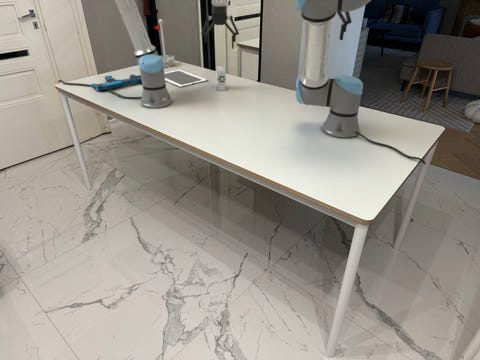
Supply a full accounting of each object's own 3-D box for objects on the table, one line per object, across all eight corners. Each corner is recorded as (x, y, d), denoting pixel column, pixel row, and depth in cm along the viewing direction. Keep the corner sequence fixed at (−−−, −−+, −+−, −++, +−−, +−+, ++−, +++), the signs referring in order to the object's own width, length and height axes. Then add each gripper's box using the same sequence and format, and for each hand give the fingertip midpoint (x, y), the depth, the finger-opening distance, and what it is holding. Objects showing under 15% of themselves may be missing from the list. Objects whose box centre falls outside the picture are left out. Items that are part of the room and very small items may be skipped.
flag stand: (173, 62, 250) (168, 17, 234) (176, 66, 240) (172, 20, 223) (155, 63, 246) (149, 18, 230) (158, 68, 236) (152, 21, 219)
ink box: (217, 86, 203) (216, 60, 195) (225, 86, 203) (225, 60, 195) (217, 90, 195) (216, 64, 187) (226, 90, 196) (225, 64, 188)
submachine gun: (136, 68, 224) (154, 75, 207) (137, 74, 226) (155, 81, 209) (84, 79, 205) (99, 86, 189) (85, 85, 207) (100, 93, 190)
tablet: (153, 75, 221) (153, 74, 221) (180, 69, 232) (180, 69, 232) (180, 87, 201) (180, 86, 200) (207, 80, 212) (207, 79, 211)
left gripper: (194, 6, 172) (197, 50, 183) (243, 6, 173) (243, 49, 184) (195, 4, 178) (198, 47, 189) (242, 4, 179) (242, 46, 191)
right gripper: (307, -11, 145) (302, 41, 157) (364, -11, 147) (355, 41, 158) (303, -12, 152) (299, 38, 163) (358, -13, 153) (349, 37, 165)
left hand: (220, 48), depth 187 cm, fingers open, 13 cm apart
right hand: (326, 39), depth 161 cm, fingers open, 13 cm apart
